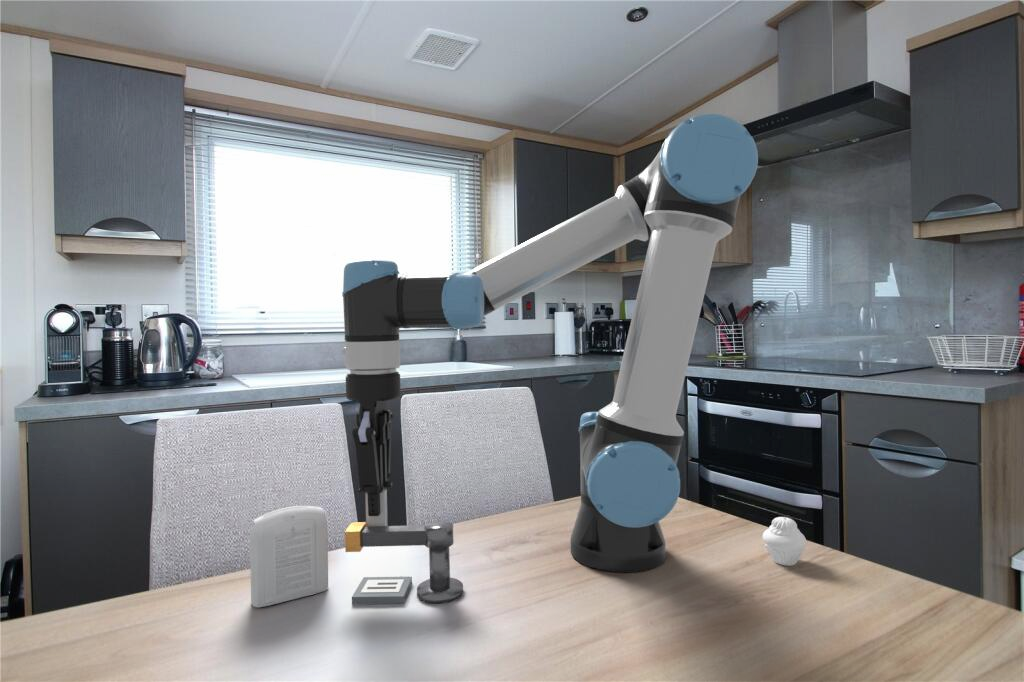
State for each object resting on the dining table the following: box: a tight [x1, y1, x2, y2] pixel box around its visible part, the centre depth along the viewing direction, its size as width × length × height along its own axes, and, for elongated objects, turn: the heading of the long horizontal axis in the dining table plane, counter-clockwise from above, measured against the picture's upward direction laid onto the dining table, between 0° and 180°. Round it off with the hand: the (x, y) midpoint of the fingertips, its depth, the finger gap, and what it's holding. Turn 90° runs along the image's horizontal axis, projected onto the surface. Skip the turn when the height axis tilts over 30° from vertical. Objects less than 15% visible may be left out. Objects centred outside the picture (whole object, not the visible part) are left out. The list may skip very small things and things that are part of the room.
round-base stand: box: [416, 547, 464, 605], centre depth 80 cm, size 6×6×7 cm
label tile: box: [351, 576, 413, 605], centre depth 80 cm, size 7×6×1 cm
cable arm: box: [344, 520, 455, 553], centre depth 80 cm, size 14×4×3 cm, turn 91°
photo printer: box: [249, 505, 329, 608], centre depth 80 cm, size 10×4×12 cm, turn 123°
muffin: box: [762, 516, 807, 567], centre depth 88 cm, size 6×6×7 cm
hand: (377, 535), depth 82 cm, fingers closed
